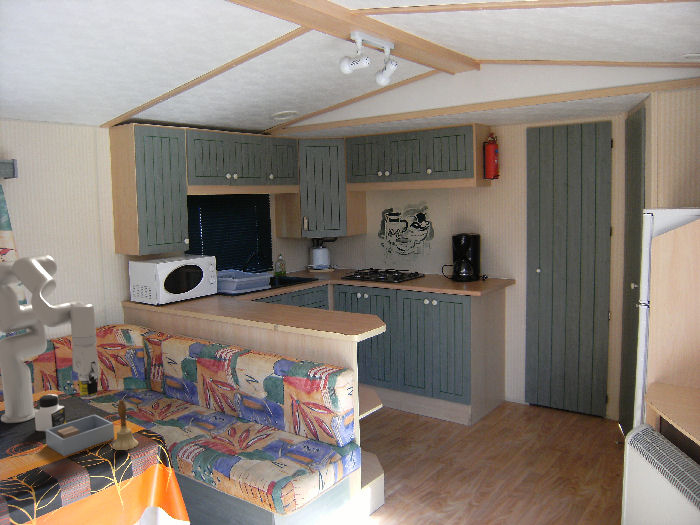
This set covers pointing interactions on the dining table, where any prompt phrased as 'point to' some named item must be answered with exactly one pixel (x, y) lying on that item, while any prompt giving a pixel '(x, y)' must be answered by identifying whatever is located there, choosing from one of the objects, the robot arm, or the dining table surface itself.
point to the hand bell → (124, 432)
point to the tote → (80, 434)
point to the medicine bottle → (49, 413)
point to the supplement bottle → (85, 387)
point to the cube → (67, 432)
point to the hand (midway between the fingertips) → (88, 391)
